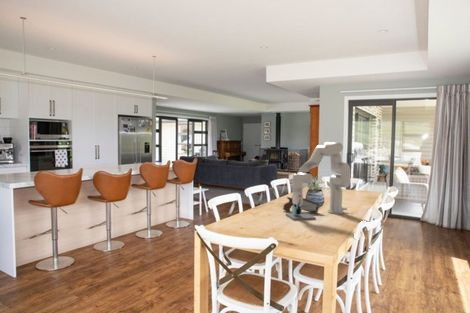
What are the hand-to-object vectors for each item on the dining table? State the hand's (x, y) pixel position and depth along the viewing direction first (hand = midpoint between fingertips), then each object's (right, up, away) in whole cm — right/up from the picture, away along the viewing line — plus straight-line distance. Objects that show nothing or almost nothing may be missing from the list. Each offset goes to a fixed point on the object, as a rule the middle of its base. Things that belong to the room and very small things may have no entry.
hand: (296, 212), depth 255 cm
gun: (+7, -3, +19) cm, 21 cm away
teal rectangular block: (0, -1, 0) cm, 1 cm away
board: (+3, -4, +1) cm, 5 cm away
